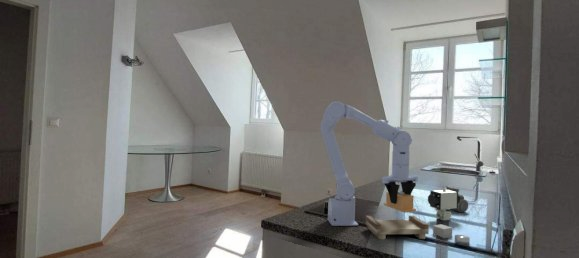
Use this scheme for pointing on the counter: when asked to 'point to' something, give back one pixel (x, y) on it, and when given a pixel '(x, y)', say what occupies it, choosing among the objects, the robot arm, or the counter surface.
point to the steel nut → (462, 240)
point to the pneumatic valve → (443, 202)
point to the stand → (397, 227)
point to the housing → (401, 202)
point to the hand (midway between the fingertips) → (399, 202)
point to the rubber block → (442, 231)
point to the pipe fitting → (463, 203)
